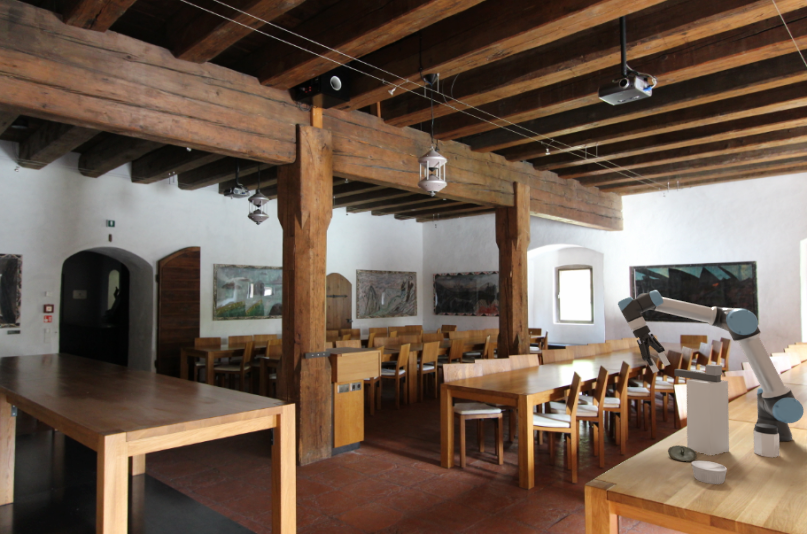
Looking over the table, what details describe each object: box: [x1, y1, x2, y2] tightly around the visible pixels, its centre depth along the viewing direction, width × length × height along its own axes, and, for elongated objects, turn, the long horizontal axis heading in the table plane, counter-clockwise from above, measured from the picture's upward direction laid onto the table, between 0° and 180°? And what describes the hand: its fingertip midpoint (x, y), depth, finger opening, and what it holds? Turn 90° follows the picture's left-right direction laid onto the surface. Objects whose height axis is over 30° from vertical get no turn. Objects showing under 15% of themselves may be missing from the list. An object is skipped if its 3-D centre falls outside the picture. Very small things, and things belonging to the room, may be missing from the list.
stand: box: [686, 378, 730, 456], centre depth 228 cm, size 14×10×30 cm
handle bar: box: [674, 363, 723, 383], centre depth 233 cm, size 5×19×7 cm, turn 30°
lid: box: [667, 444, 698, 463], centre depth 216 cm, size 11×10×5 cm
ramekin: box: [691, 460, 728, 485], centre depth 191 cm, size 11×11×5 cm
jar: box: [753, 423, 780, 458], centre depth 223 cm, size 9×8×12 cm
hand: (661, 368), depth 250 cm, fingers open, 13 cm apart
